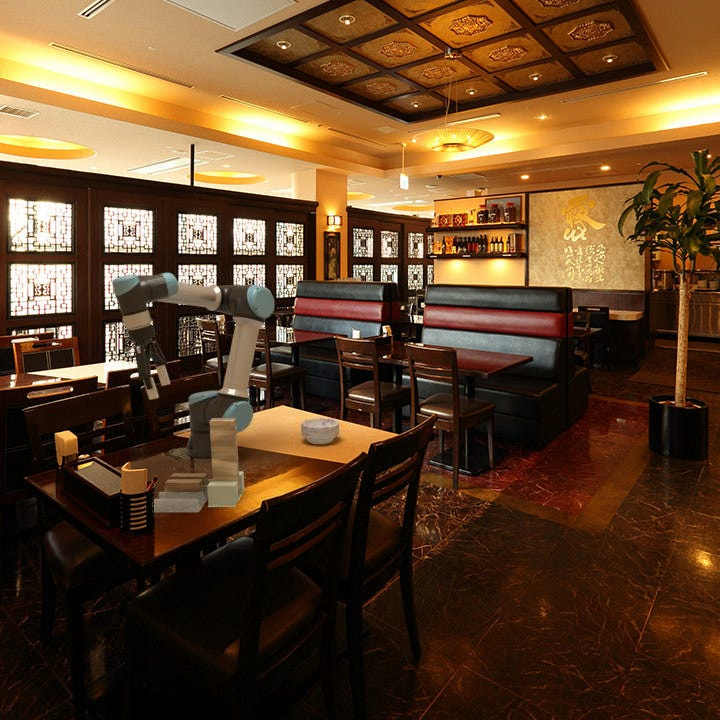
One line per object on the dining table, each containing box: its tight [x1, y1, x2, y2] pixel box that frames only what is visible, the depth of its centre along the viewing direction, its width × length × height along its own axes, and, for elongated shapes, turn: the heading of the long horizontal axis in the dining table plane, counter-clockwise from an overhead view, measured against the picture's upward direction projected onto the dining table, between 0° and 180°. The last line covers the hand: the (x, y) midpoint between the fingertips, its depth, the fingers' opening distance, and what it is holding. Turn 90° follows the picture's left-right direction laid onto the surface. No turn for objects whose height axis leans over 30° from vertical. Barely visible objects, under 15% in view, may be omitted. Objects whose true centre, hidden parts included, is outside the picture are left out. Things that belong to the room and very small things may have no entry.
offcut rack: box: [153, 478, 213, 513], centre depth 165 cm, size 18×13×5 cm
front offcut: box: [164, 479, 203, 492], centre depth 164 cm, size 2×10×6 cm, turn 89°
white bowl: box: [300, 417, 340, 446], centre depth 222 cm, size 15×15×8 cm
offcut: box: [170, 472, 208, 485], centre depth 168 cm, size 2×10×6 cm, turn 89°
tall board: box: [210, 418, 240, 498], centre depth 164 cm, size 3×7×24 cm, turn 89°
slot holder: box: [207, 471, 246, 508], centre depth 166 cm, size 13×8×8 cm, turn 179°
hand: (160, 391), depth 174 cm, fingers open, 13 cm apart
